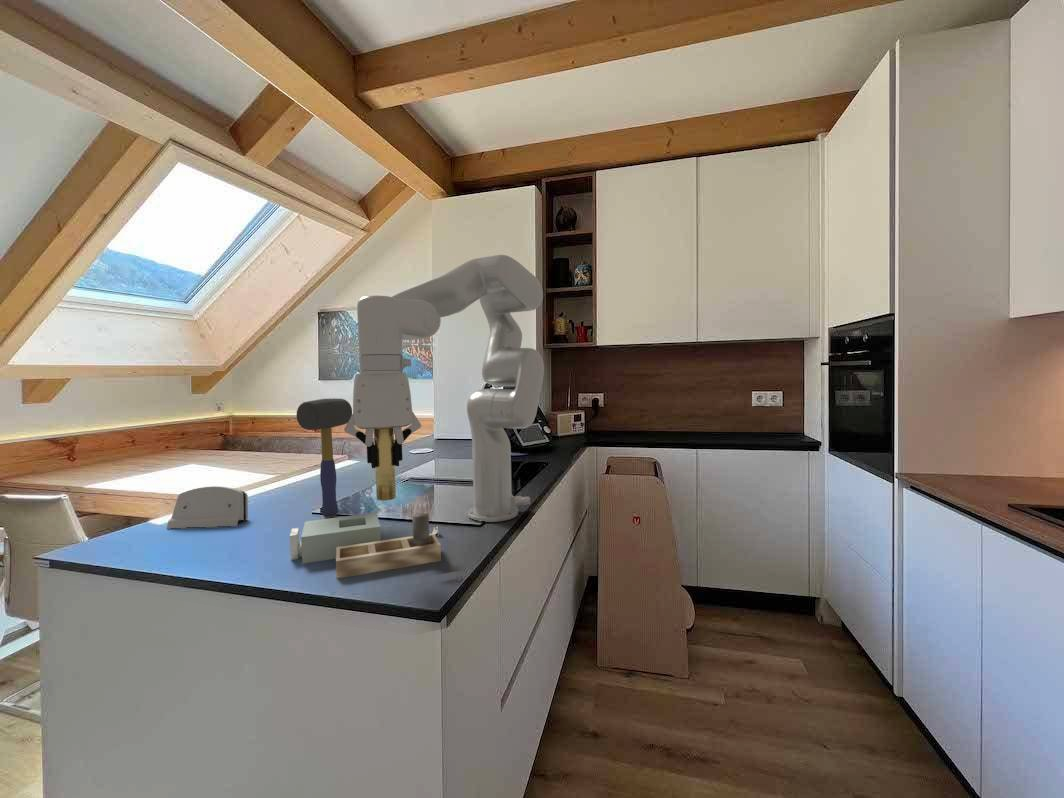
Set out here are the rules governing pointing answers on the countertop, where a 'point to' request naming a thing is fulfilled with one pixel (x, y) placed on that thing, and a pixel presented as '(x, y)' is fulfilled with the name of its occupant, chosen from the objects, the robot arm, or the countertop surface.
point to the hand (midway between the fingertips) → (385, 464)
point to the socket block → (337, 535)
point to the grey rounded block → (209, 508)
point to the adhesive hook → (436, 531)
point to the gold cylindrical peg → (385, 464)
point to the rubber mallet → (325, 441)
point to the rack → (390, 551)
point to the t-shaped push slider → (295, 544)
